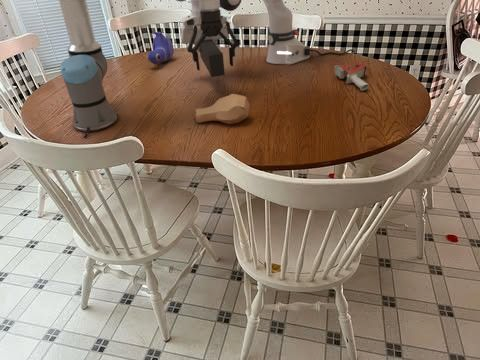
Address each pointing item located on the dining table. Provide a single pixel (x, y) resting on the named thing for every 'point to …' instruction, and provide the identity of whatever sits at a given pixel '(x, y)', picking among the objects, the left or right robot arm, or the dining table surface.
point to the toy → (161, 49)
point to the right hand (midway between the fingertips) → (206, 51)
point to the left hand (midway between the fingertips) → (215, 67)
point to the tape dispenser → (353, 74)
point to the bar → (212, 58)
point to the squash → (225, 110)
